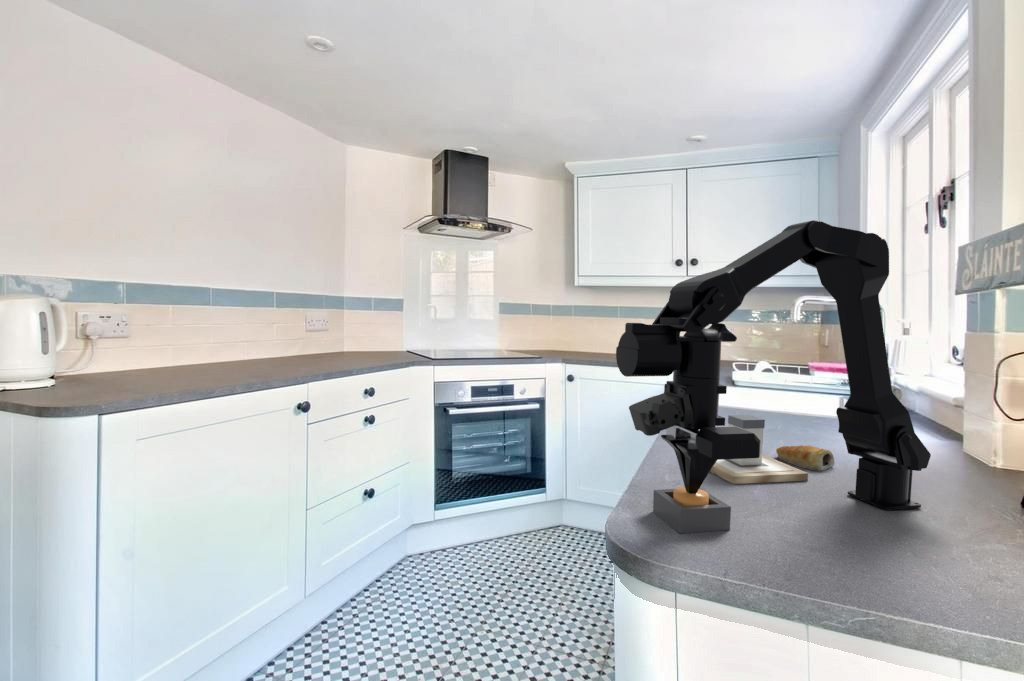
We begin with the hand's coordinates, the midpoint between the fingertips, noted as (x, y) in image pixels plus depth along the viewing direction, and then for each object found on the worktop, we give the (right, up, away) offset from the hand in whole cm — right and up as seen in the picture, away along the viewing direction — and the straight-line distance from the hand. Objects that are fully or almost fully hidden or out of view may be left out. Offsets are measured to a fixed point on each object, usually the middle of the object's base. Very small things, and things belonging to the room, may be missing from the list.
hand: (691, 492), depth 65 cm
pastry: (+31, -3, +27) cm, 42 cm away
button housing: (0, -4, 0) cm, 4 cm away
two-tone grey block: (+18, -2, +23) cm, 29 cm away
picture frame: (+18, -3, +23) cm, 29 cm away
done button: (0, -2, 0) cm, 2 cm away
